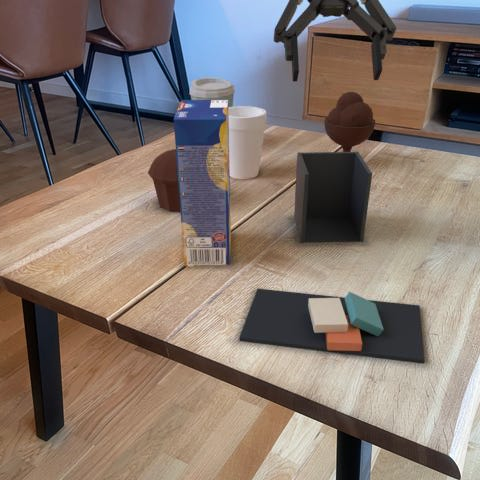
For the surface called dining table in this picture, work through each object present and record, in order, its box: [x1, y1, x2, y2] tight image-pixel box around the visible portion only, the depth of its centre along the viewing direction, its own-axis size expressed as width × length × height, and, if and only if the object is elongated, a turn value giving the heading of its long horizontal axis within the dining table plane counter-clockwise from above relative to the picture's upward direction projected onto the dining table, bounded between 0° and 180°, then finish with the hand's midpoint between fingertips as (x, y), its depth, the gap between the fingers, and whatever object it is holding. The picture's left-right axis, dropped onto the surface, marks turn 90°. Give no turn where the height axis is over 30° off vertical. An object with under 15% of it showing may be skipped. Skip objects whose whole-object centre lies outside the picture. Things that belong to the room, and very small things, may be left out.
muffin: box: [147, 148, 181, 213], centre depth 102 cm, size 12×11×10 cm
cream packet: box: [308, 298, 348, 333], centre depth 69 cm, size 6×4×1 cm, turn 1°
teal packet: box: [344, 291, 384, 337], centre depth 70 cm, size 6×4×1 cm, turn 178°
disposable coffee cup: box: [189, 76, 236, 108], centre depth 131 cm, size 11×11×15 cm
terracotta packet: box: [325, 315, 362, 351], centre depth 68 cm, size 6×4×1 cm, turn 177°
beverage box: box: [173, 99, 232, 268], centre depth 83 cm, size 7×11×22 cm, turn 0°
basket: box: [293, 151, 373, 244], centre depth 91 cm, size 11×10×12 cm
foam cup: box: [228, 105, 268, 180], centre depth 115 cm, size 10×9×13 cm
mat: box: [238, 288, 426, 364], centre depth 71 cm, size 22×12×1 cm, turn 78°
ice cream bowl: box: [323, 91, 376, 152], centre depth 119 cm, size 11×11×15 cm
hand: (336, 76), depth 91 cm, fingers open, 13 cm apart
